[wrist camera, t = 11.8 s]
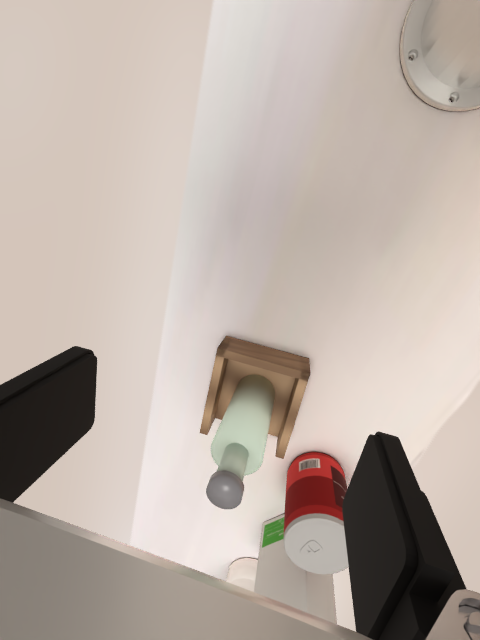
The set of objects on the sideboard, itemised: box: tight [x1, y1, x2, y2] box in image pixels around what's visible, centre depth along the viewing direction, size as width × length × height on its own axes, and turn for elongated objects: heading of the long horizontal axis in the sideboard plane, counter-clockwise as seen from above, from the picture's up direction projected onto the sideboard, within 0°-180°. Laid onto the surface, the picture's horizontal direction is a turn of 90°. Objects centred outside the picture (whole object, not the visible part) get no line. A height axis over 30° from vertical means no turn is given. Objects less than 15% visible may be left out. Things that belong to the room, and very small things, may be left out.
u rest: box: [200, 336, 310, 459], centre depth 40 cm, size 12×11×5 cm
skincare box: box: [254, 514, 337, 624], centre depth 40 cm, size 8×7×16 cm
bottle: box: [206, 375, 275, 509], centre depth 34 cm, size 5×5×17 cm
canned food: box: [283, 452, 349, 574], centre depth 39 cm, size 8×8×11 cm
